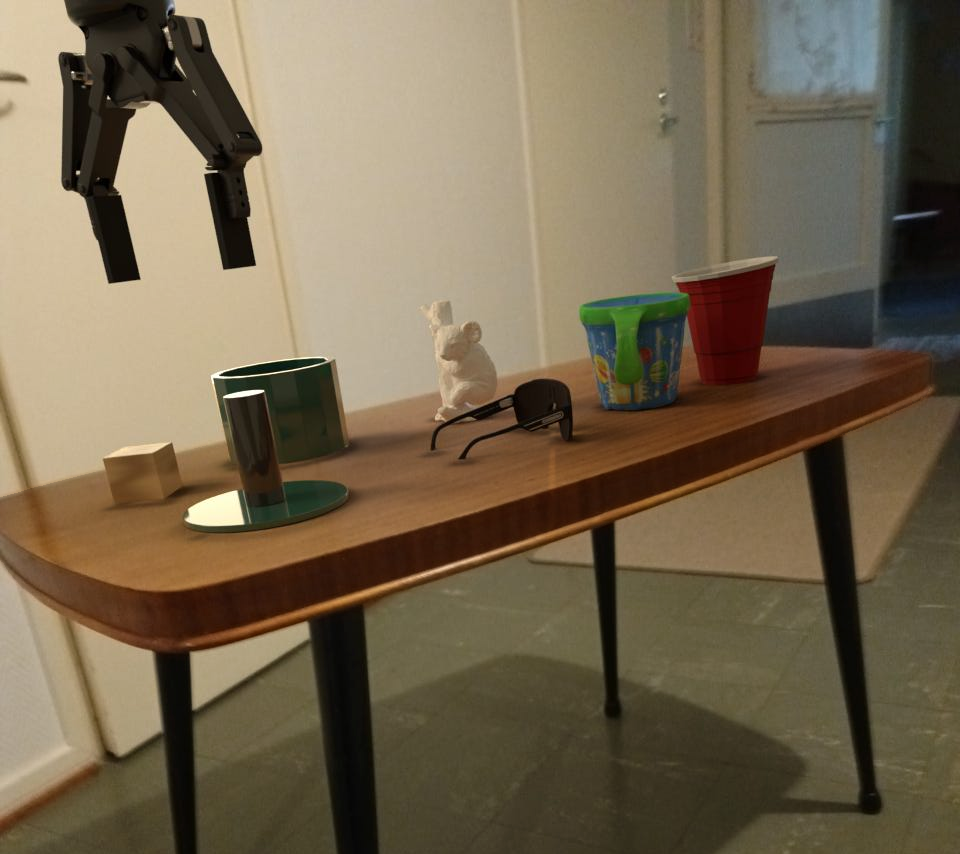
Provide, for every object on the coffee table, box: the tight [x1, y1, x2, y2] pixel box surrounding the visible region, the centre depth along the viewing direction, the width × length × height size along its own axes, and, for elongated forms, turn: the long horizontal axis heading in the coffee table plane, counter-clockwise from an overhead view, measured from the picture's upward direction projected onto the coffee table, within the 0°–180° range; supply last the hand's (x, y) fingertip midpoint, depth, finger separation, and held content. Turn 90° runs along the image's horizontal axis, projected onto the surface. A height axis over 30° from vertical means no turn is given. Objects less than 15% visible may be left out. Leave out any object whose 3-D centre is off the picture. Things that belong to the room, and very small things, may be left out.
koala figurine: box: [420, 298, 498, 425], centre depth 100 cm, size 8×7×12 cm
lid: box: [182, 390, 350, 534], centre depth 73 cm, size 12×12×9 cm
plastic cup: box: [671, 255, 780, 386], centre depth 103 cm, size 11×11×12 cm
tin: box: [210, 356, 350, 466], centre depth 93 cm, size 11×11×8 cm
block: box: [102, 441, 183, 505], centre depth 83 cm, size 4×4×4 cm
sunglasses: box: [430, 378, 574, 460], centre depth 86 cm, size 10×12×5 cm
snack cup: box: [578, 292, 690, 412], centre depth 96 cm, size 16×10×10 cm
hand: (179, 275), depth 77 cm, fingers open, 13 cm apart
